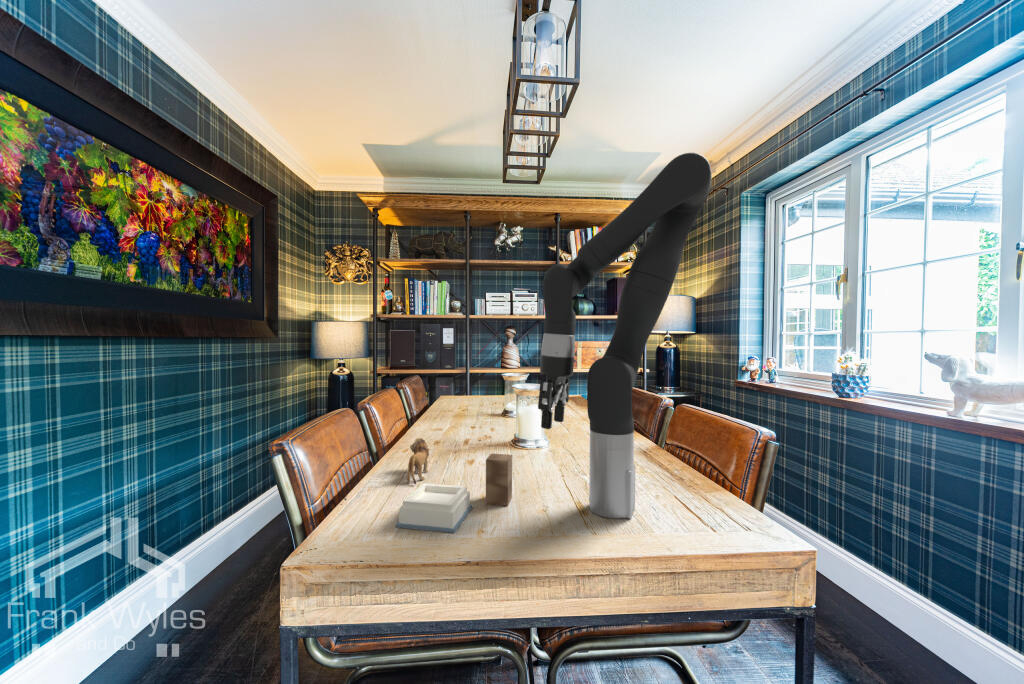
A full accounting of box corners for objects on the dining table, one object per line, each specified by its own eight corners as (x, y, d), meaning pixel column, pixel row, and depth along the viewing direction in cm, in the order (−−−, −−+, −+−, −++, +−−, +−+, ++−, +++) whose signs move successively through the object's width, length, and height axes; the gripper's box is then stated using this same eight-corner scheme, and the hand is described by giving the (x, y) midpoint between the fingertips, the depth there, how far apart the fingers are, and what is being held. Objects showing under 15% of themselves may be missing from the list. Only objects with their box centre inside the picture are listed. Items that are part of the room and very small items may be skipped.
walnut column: (512, 497, 95) (512, 454, 95) (507, 506, 90) (507, 461, 90) (491, 496, 96) (491, 453, 96) (485, 504, 91) (485, 459, 91)
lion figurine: (410, 468, 116) (410, 436, 116) (429, 467, 117) (429, 436, 117) (405, 487, 101) (405, 450, 101) (427, 485, 102) (427, 450, 102)
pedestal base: (472, 507, 89) (472, 485, 89) (454, 532, 77) (454, 507, 77) (420, 502, 91) (420, 481, 91) (395, 527, 80) (395, 502, 80)
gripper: (563, 357, 85) (558, 434, 85) (582, 354, 98) (577, 421, 98) (530, 353, 88) (525, 428, 89) (552, 352, 101) (547, 417, 102)
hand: (552, 424), depth 94 cm, fingers open, 8 cm apart
